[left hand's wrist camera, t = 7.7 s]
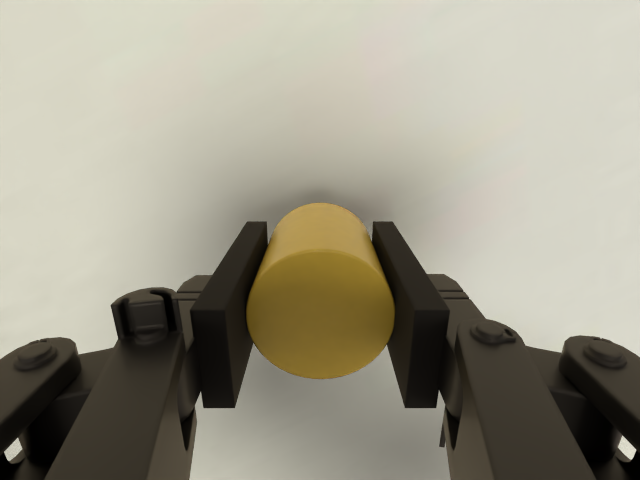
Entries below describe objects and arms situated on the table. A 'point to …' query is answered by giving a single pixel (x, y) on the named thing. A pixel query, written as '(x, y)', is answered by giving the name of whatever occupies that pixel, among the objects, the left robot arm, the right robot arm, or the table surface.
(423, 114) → the table surface
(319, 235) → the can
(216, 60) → the table surface
